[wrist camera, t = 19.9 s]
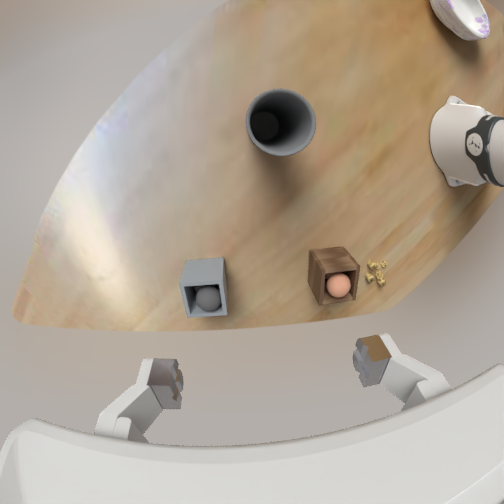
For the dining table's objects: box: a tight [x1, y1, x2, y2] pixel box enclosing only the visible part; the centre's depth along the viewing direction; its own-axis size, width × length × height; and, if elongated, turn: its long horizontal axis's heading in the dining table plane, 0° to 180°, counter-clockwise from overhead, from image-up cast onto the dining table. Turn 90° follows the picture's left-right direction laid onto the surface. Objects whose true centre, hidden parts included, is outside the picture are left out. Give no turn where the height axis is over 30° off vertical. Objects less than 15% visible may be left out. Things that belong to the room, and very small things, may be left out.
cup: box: [246, 89, 316, 156], centre depth 30 cm, size 7×7×15 cm
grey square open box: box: [179, 257, 228, 318], centre depth 43 cm, size 6×6×7 cm
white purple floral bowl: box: [430, 0, 490, 40], centre depth 22 cm, size 15×15×8 cm
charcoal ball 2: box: [196, 286, 221, 311], centre depth 41 cm, size 4×4×4 cm
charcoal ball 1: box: [194, 284, 217, 292], centre depth 45 cm, size 4×4×4 cm
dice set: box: [365, 260, 387, 287], centre depth 49 cm, size 5×5×2 cm
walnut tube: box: [308, 247, 360, 305], centre depth 44 cm, size 6×6×7 cm
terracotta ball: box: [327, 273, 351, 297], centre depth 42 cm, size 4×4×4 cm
